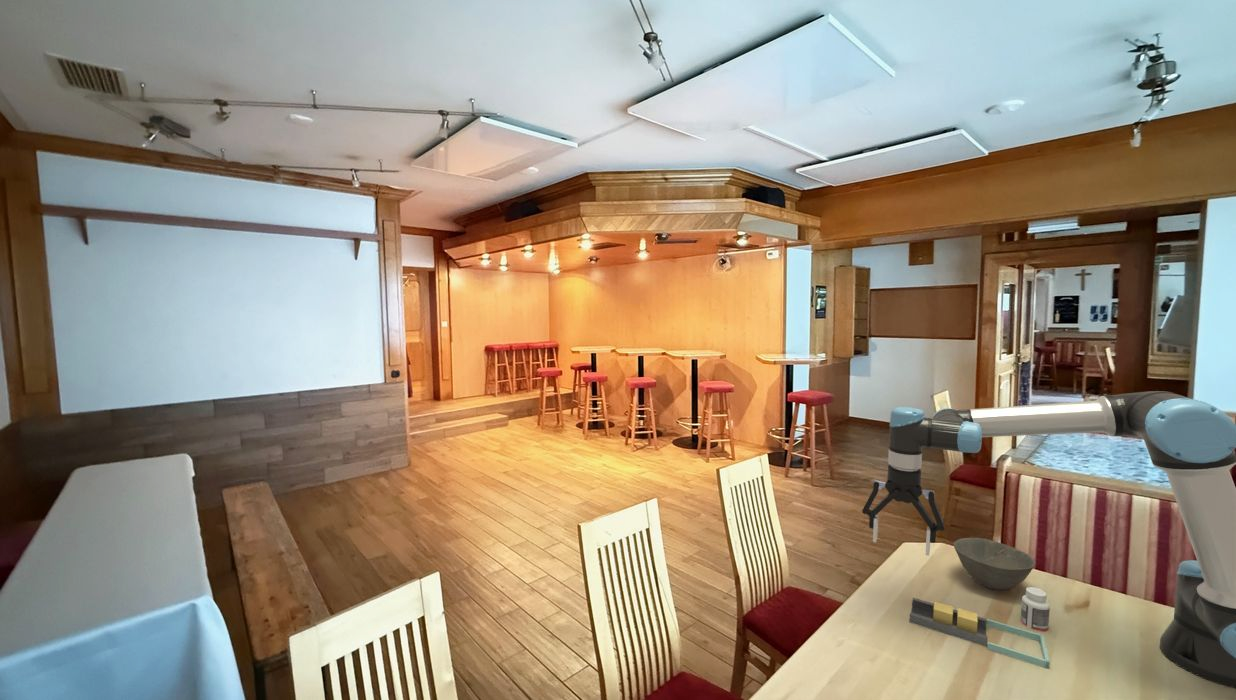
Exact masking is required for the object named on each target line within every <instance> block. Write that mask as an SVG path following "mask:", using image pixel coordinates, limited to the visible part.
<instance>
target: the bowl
mask: <svg viewBox="0 0 1236 700" xmlns="http://www.w3.org/2000/svg"><path fill="white" fill-rule="evenodd" d="M953 547H954V548H953V549H954V550H955V552H956V554H957V556H958V559H959V561H960V564H961V565H962V567H963V568H964V569H965V571H966V572H967V574H968V575H969V576H970V577H971V578H972V579H973V580H974V581H975V582H977V583H978V584H980V585H981V586H984V587H985V588H987V589H990V590H993V591H994V590H995V591H1005V590H1010V589H1013V588H1015V587H1016V586H1019V585H1020V584H1021V583H1023V582H1024V581H1025V580H1026V579H1027V577H1028V576H1029V574H1030V573H1031V572H1032V570H1033V569H1034V568H1035V565H1036V560H1034V558H1033V557H1032V556H1031V555H1029V554H1028V553H1026V551H1025V552H1024V551H1022V550H1020V549H1018V548H1015V547H1013V546H1011V545H1007V544H1004V543H1002V542H998V541H995V540H992V539H991V540H990V539H987V538H980V537H965V538H964V537H962V538H959V539H957V540H955V541H954V542H953Z"/></svg>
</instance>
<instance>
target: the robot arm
mask: <svg viewBox="0 0 1236 700" xmlns="http://www.w3.org/2000/svg"><path fill="white" fill-rule="evenodd" d="M889 419H890V420H889V430H888V431H889V433H888V434H889V437H888V456H887V457H888V459H887V463H888V464H889V465H888V466H887V479H886V480H887V481H886V482H884V481H881V480H880V479H875V480H874V482H873V487H872V488H873V489H872V491H871V494H870V495H869V497H868V499H867V501H866V503H865V504H864V505H863V509H862V510H861V513H863V514H864V515H867V516H868V518H869V521H868V522H869V523H868V526H869V528H870V529H873V531H872V532H873V533H872V542H873V543H877V541H878V537H879V535H878V534H879V515H878V514H879V513H880V512H881V511H882V510H883V509H884V508H885V507H886V506H887V505H888V504H889V503H890V502H891V501H893V500H894V501H896V502H902V503H905V504H912V505H913V507H914V508H915V509H916V510H917V512H918V513H919V515H920V517H921V518H922V520H923V521H924V522H925V524H926V525H927V527H926V536H925V537H926V540H925V556H930V551H931V543H932V544H935V543H936V539H937V532H938V531H941V532H943V531H945V529H946V528H945V527H946V525H945V522H944V520H943V517H942V514H941V513H940V512H941V511H940V509H939V506H938V504H937V501H936V499H935V496H936V495H935V490H934V489H931V488H930V489H923V488H922V485H921V482H922V470H921V468H922V463H923V462H922V461H923V460H922V459H923V448H928V449H936V450H937V449H938V450H945V451H951V452H952V451H953V452H959V453H969V454H971V453H972V454H976V453H979V452H980V451H981V448H982V443H983V442H982V439H983V438H992V437H993V438H995V437H1017V436H1018V437H1019V436H1021V437H1022V436H1045V435H1046V436H1047V435H1065V434H1067V435H1070V434H1073V435H1074V434H1091V433H1092V434H1097V433H1103V434H1106V435H1107V436H1109V437H1133V438H1139V439H1142V440H1143V441H1144V444H1145V447H1146V449H1147V452H1148V455H1149V457H1150V460H1151V464H1152V465H1153V466H1154V467H1156V468H1157V469H1159V470H1162V471H1163V472H1165V473H1166V475H1167V476H1166V477H1167V479H1168V482H1169V486H1170V487H1171V490H1172V493H1173V496H1174V499H1175V501H1176V504H1177V507H1178V510H1179V514H1180V515H1181V518H1182V521H1183V525H1184V527H1185V530H1186V532H1187V536H1188V538H1189V543H1190V544H1191V547H1192V549H1193V552H1194V555H1195V558H1196V560H1193V559H1191V560H1184V561H1181V562H1180V563H1179V565H1178V569H1177V572H1176V575H1177V577H1176V588H1175V602H1174V613H1173V618H1172V619H1173V620H1172V621H1171V622H1170V623H1169V625H1168V626H1167V628H1166V629H1165V630H1164V632H1163V633H1162V634H1161V636H1160V639H1159V650H1160V651H1161V653H1162V654H1163V655H1164V656H1165V657H1166V658H1167V659H1169V660H1170V661H1171V662H1172V663H1174V664H1175V665H1177V666H1179V667H1180V668H1182V669H1184V670H1185V671H1187V672H1190V673H1192V674H1193V675H1196V676H1199V677H1200V678H1203V679H1206V680H1208V681H1211V682H1214V683H1217V684H1219V685H1224V686H1227V687H1230V688H1235V689H1236V486H1235V482H1234V480H1233V477H1232V474H1231V472H1230V470H1231V469H1232V468H1233V467H1234V466H1236V452H1235V449H1236V423H1235V422H1234V420H1233V419H1232V418H1231V417H1230V416H1229V415H1228V414H1226V413H1225V412H1223V410H1221V409H1219V408H1218V407H1216V406H1214V405H1212V404H1210V403H1207V402H1205V401H1202V400H1198V399H1193V398H1190V397H1187V396H1184V395H1181V394H1179V393H1175V392H1171V391H1164V390H1163V391H1161V390H1160V391H1159V390H1155V391H1153V390H1152V391H1151V390H1150V391H1139V392H1131V393H1129V392H1128V393H1121V394H1120V393H1119V394H1111V395H1100V396H1099V397H1098V398H1097V399H1095V400H1089V401H1088V400H1087V401H1085V400H1084V401H1074V402H1073V401H1072V402H1070V401H1069V402H1057V403H1056V402H1054V403H1043V404H1028V405H1015V406H1014V405H1013V406H1001V407H1000V406H999V407H987V408H986V407H985V408H969V409H954V408H951V407H950V408H949V407H945V408H941V409H939V410H937V411H936V412H935V413H934V414H933V416H932V418H930V417H925V412H924V410H922V409H919V408H915V407H908V406H898V407H895V408H893V409H892V410H891V411H890V417H889ZM883 488H885V489H886V491H887V492H888V493H887V495H886V496H885V497H884V498H882V500H880V502H879V503H877V505H875V506H874V508H873V509H871V508H870V507H871V506H872V504H873V502H874V501H875V499H876V497H877V495H878V494H879V491H880V490H882V489H883ZM882 491H883V490H882ZM921 495H924V498H925V499H926V500H927V501H928V503H929V507H930V510H931V511H932V515H933V517H934V519H935V521H934V520H933V518H932V517H931V516H930V514H929V513H928V511H927V510H926V508H925V506H924V505H923V504H922V502H921V500H920V498H919V497H920V496H921ZM935 522H936V523H935Z"/></svg>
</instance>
